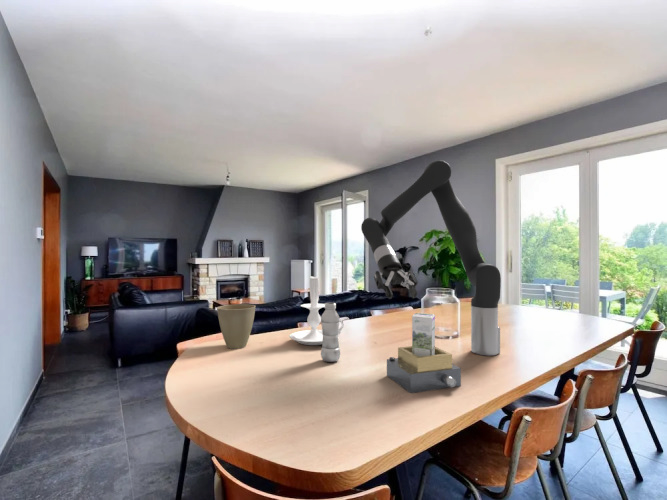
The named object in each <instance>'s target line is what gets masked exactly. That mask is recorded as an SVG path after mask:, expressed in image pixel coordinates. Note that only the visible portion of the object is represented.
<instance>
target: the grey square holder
mask: <svg viewBox="0 0 667 500" xmlns="http://www.w3.org/2000/svg"><path fill="white" fill-rule="evenodd" d="M461 369H462V368H461V367H459V366H457V365H455V364H453V354H452V353H450V352H447V351H445V350H444V349H441V348H439V347H436V346H435V355H429V356H420V357H419V356H417V355H415V354H413V353H412V345H410V346H400V347H397V358H395V357H394V356H393V357H391V356H390V357H389V358H387V359H386V377H388V378H389V379H391V380H392V381H394V382H395V383H396V384H397V385H399V386H400V387H401V388H403V389H404V390H405V391H407V392H408V393H409V394H414V393H422V392H429V391H434V390H435V391H436V390H442V389H450V388H456V387H461V386H462V370H461Z"/></svg>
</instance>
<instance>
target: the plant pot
mask: <svg viewBox="0 0 667 500" xmlns="http://www.w3.org/2000/svg"><path fill="white" fill-rule="evenodd" d="M216 310H217V317H218V322H219V327H220V331H221V335H222V337H223V340H224V343H225V345H226V348H227V349H233V350H234V349H235V350H237V349H238V350H239V349H243V348H245V347H246V346H247V344H248V341H249V339H250V337H251V336H250V335H251V332H252V329H253V324H254V320H255V315H256V314H255V313H256V305H254V304H248V303H247V304H245V303H243V304H242V303H240V304H236V303H235V304H226V305H220V306H217V307H216Z"/></svg>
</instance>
